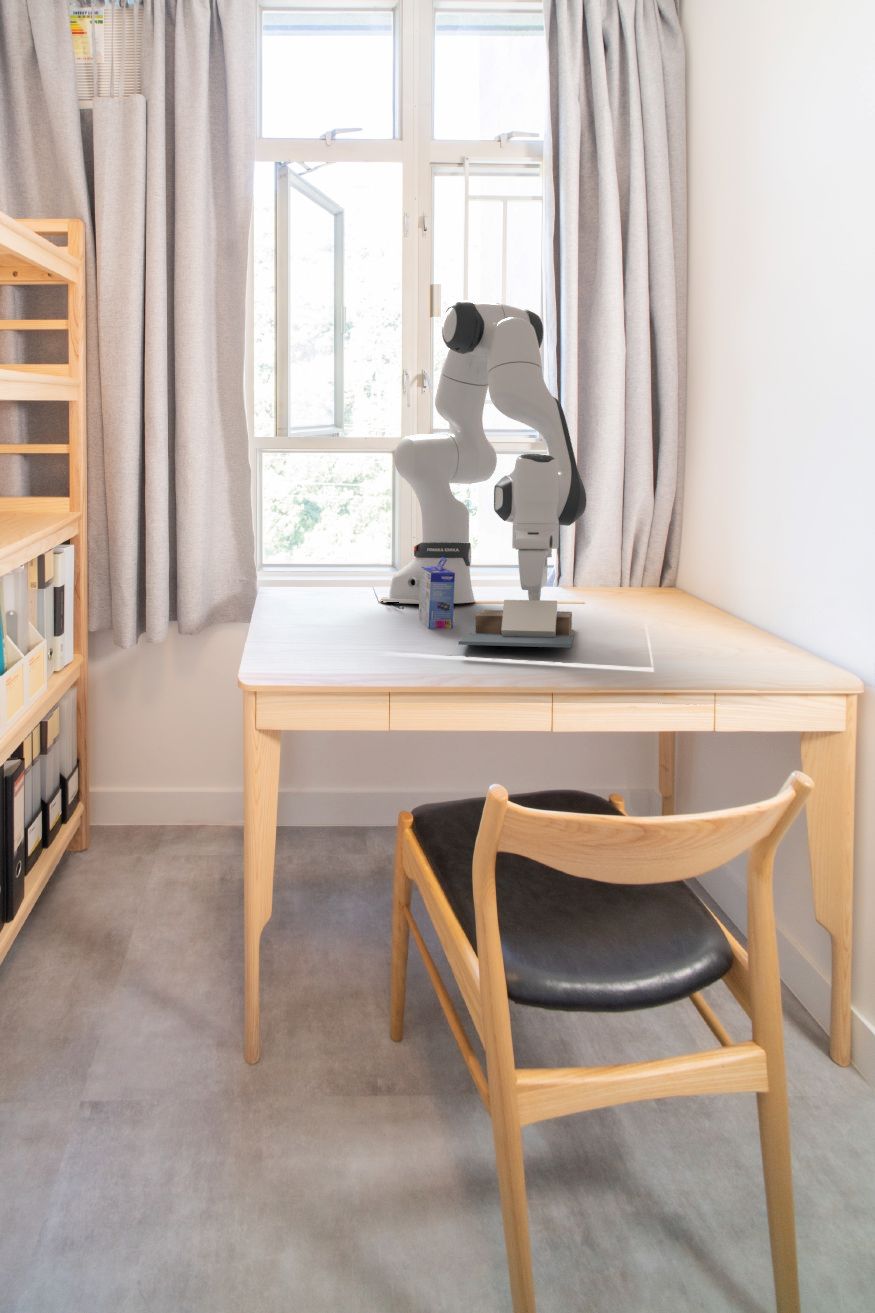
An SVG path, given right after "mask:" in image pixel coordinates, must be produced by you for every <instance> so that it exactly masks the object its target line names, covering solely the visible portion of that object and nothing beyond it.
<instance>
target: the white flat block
mask: <svg viewBox="0 0 875 1313" xmlns="http://www.w3.org/2000/svg"><path fill="white" fill-rule="evenodd" d="M502 610H503V618H502V628H501V632H502V636H521V637H555V634H556V619H557V611H558V600H544V599H543V600H542V599H540V600H529V599H504V600H503V609H502Z"/></svg>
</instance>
